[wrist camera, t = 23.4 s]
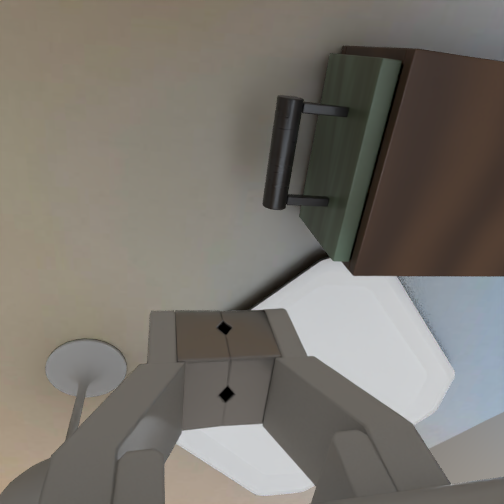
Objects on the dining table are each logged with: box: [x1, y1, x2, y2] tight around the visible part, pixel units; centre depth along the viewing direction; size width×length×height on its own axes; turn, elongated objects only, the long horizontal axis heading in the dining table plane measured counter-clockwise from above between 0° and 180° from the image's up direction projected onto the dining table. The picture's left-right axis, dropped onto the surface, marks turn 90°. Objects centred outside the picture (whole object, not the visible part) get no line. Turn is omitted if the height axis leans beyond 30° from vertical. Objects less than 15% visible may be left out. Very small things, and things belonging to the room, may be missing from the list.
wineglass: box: [0, 339, 127, 504], centre depth 28 cm, size 8×8×21 cm
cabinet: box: [341, 46, 504, 276], centre depth 29 cm, size 16×14×10 cm
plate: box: [176, 257, 455, 496], centre depth 43 cm, size 29×29×2 cm
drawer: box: [263, 53, 402, 262], centre depth 28 cm, size 19×12×8 cm, turn 83°
